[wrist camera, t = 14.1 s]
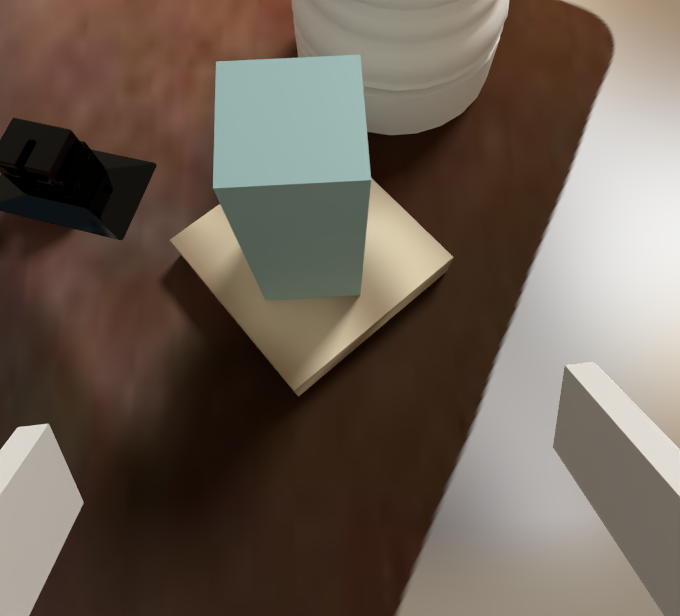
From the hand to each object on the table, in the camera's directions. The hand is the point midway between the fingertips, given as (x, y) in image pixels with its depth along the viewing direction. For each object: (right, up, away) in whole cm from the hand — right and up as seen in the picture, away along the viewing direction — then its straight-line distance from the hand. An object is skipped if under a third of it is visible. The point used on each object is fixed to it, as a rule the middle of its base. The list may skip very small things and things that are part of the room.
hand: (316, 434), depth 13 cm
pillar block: (-1, +6, +14) cm, 15 cm away
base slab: (-1, +6, +17) cm, 18 cm away
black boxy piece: (-16, +11, +19) cm, 27 cm away
